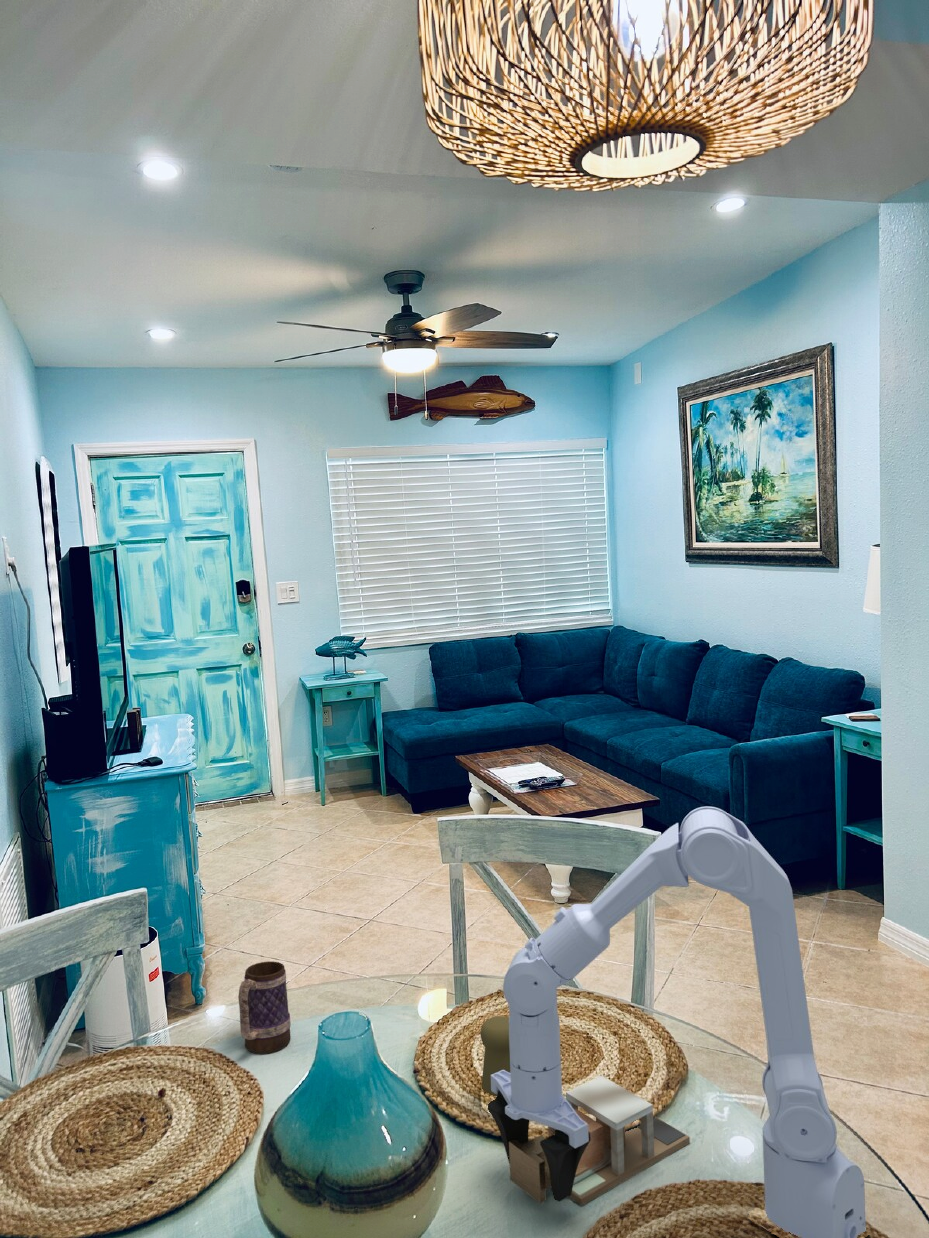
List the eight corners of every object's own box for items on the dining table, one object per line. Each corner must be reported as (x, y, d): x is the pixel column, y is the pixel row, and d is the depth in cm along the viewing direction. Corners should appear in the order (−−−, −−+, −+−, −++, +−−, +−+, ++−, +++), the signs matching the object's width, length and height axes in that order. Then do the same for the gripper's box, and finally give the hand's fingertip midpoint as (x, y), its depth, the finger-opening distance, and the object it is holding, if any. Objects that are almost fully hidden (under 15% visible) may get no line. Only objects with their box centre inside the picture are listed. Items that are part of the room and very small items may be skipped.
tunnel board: (689, 1142, 108) (687, 1087, 108) (581, 1206, 97) (579, 1144, 97) (634, 1110, 115) (633, 1058, 115) (528, 1166, 105) (526, 1108, 105)
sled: (634, 1151, 105) (632, 1112, 105) (540, 1203, 96) (539, 1161, 96) (602, 1131, 109) (601, 1094, 109) (510, 1179, 101) (508, 1139, 101)
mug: (260, 1029, 142) (257, 955, 141) (299, 1035, 139) (296, 959, 139) (222, 1061, 132) (219, 981, 132) (263, 1068, 130) (260, 986, 129)
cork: (508, 1120, 114) (505, 1035, 114) (470, 1105, 118) (467, 1023, 118) (534, 1098, 119) (531, 1017, 119) (497, 1085, 123) (494, 1006, 122)
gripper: (468, 1045, 103) (472, 1161, 103) (551, 1099, 91) (556, 1229, 92) (515, 1027, 107) (519, 1138, 108) (600, 1075, 96) (605, 1200, 96)
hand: (539, 1178), depth 100 cm, fingers open, 7 cm apart
